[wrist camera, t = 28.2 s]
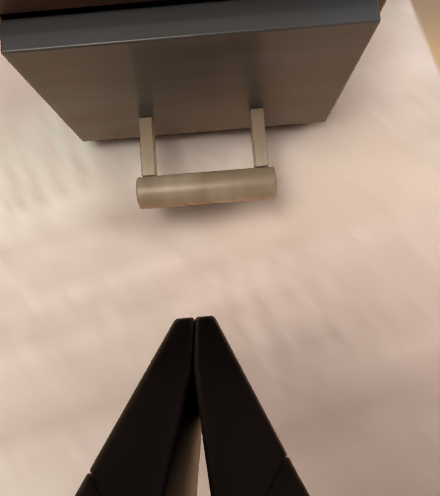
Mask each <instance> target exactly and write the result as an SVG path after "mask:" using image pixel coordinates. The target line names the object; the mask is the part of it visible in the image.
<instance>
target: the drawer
mask: <svg viewBox="0 0 440 496" xmlns="http://www.w3.org/2000/svg"><path fill="white" fill-rule="evenodd" d="M37 13H38V14H39V16H40V17H31V18H20V19H8V20H1V53H2V55H3V56H4V57H5V58H6V59H7V60H8V61H9V62H10V63H11V65H12V66H13V67H14V68H15V69H16V70H17V71H18V72H19V73H20V74H21V75H22V76H23V77H24V78H25V80H26V81H27V82H28V83H29V84H30V85H31V86H32V87H33V88H34V89H35V90H36V91H37V92H38V94H39V95H40V96H41V97H42V98H43V99H44V100H45V101H46V102H47V103H48V104H49V105H50V106H51V108H52V109H53V110H54V111H55V112H56V113H57V114H58V115H59V116H60V117H61V118H62V119H63V120H64V122H65V123H66V124H67V125H68V126H69V127H70V128H71V129H72V130H73V131H74V132H75V133H76V134H77V135H78V137H79V138H80V139H81V140H82V141H95V140H108V139H120V138H132V137H140V151H141V170H142V176H143V177H139V178H137V182H136V194H137V200H138V204H139V206H140V208H141V209H150V208H162V207H175V206H187V205H200V204H212V203H225V202H237V201H250V200H262V199H273V198H275V196H276V175H275V170H274V168H273V167H268V165H269V162H268V152H267V141H266V131H265V126H277V125H290V124H302V123H314V122H325V121H326V120H327V118H328V116H329V114H330V112H331V110H332V109H333V107H334V105H335V103H336V101H337V99H338V98H339V96H340V94H341V92H342V90H343V88H344V87H345V85H346V83H347V81H348V79H349V77H350V76H351V74H352V72H353V70H354V68H355V66H356V65H357V63H358V61H359V59H360V57H361V55H362V54H363V52H364V50H365V48H366V46H367V44H368V43H369V41H370V39H371V37H372V35H373V33H374V32H375V30H376V28H377V26H378V24H379V22H380V12H379V5H378V0H227V1H216V2H204V3H193V4H181V5H170V6H158V7H147V8H140V4H139V2H137V3H125V4H114V5H102V6H91V7H79V8H68V9H56V10H45V11H37ZM241 128H251V137H252V148H253V159H254V168H248V169H236V170H223V171H211V172H199V173H186V174H174V175H162V176H157V163H156V146H155V136H156V135H168V134H180V133H192V132H205V131H217V130H229V129H241Z"/></svg>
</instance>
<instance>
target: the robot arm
mask: <svg viewBox="0 0 440 496" xmlns="http://www.w3.org/2000/svg"><path fill="white" fill-rule="evenodd" d="M201 431H202V437H203V444H204V451H205V458H206V465H207V472H208V479H209V486H210V493H211V496H310V495H309V493H308V492H307V490H306V488H305V486H304V485H303V483H302V481H301V479H300V477H299V476H298V474H297V472H296V470H295V468H294V466H293V464H292V462H291V460H290V459H289V458H288V457H287V454H286V451H285V450H284V448H283V446H282V444H281V442H280V440H279V438H278V436H277V434H276V432H275V431H274V429H273V427H272V425H271V423H270V421H269V419H268V417H267V415H266V413H265V412H264V410H263V408H262V406H261V404H260V402H259V400H258V398H257V396H256V395H255V393H254V391H253V389H252V387H251V385H250V383H249V381H248V379H247V377H246V376H245V374H244V372H243V370H242V368H241V366H240V364H239V362H238V360H237V358H236V357H235V355H234V353H233V351H232V349H231V347H230V345H229V343H228V341H227V339H226V338H225V336H224V334H223V332H222V330H221V328H220V326H219V324H218V322H217V320H216V319H215V317H213V316H204V317H197V318H196V319H195V320H194V318H181V319H176V320H175V321H174V322H173V324H172V326H171V328H170V329H169V331H168V333H167V335H166V336H165V338H164V340H163V342H162V343H161V345H160V347H159V349H158V350H157V352H156V354H155V356H154V358H153V359H152V361H151V363H150V365H149V366H148V368H147V370H146V372H145V373H144V375H143V377H142V379H141V380H140V382H139V384H138V386H137V388H136V389H135V391H134V393H133V395H132V396H131V398H130V400H129V402H128V403H127V405H126V407H125V409H124V410H123V412H122V414H121V416H120V418H119V419H118V421H117V423H116V425H115V426H114V428H113V430H112V432H111V433H110V435H109V437H108V439H107V440H106V442H105V444H104V446H103V448H102V449H101V451H100V453H99V455H98V456H97V458H96V460H95V462H94V463H93V465H92V467H91V469H90V472H91V474H90V473H89V474H87V475H86V477H85V479H84V481H83V482H82V484H81V486H80V488H79V490H78V491H77V493H76V495H75V496H196V495H197V483H198V470H199V457H200V444H201Z"/></svg>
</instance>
